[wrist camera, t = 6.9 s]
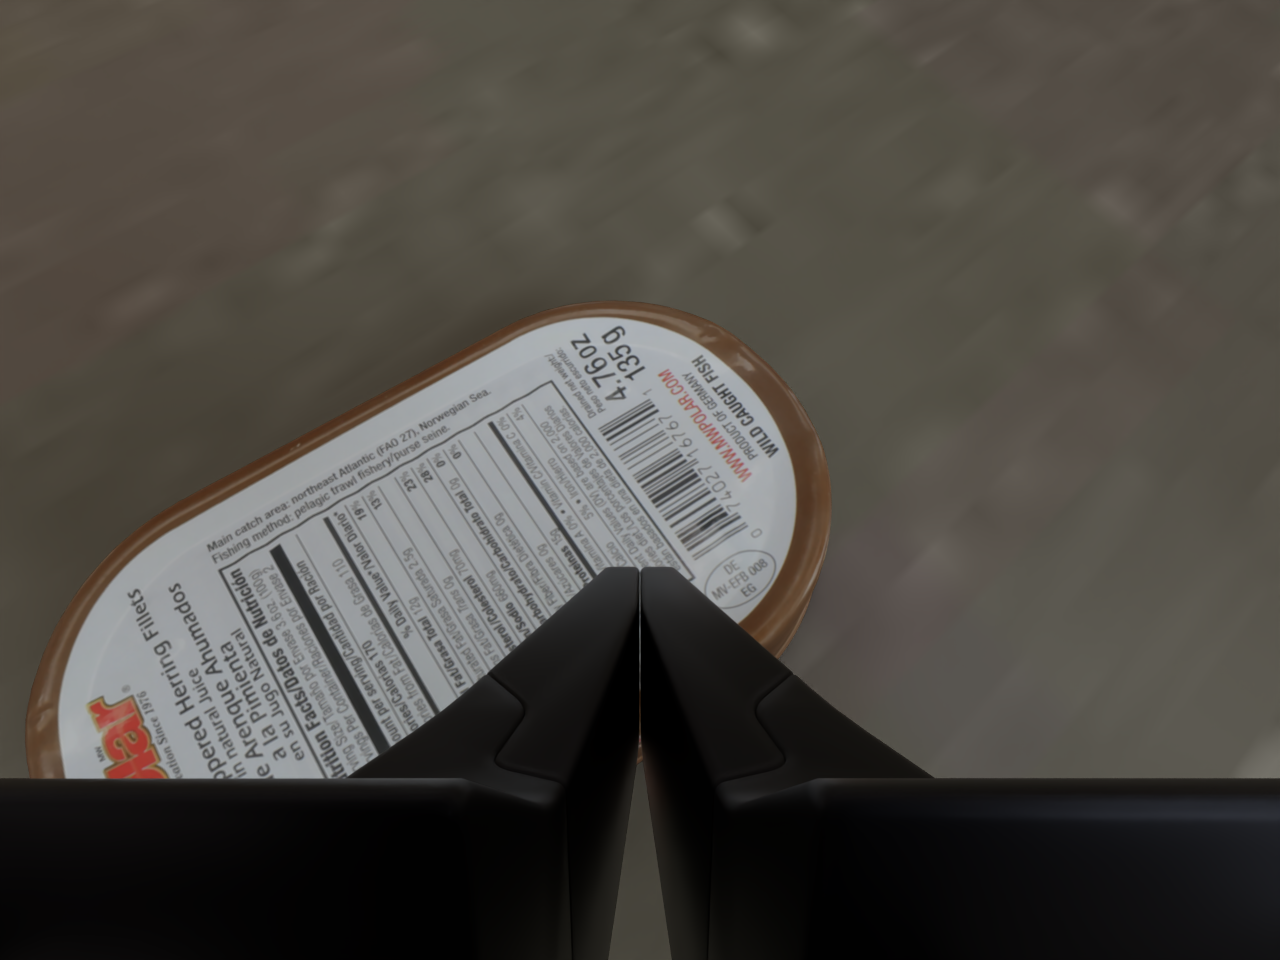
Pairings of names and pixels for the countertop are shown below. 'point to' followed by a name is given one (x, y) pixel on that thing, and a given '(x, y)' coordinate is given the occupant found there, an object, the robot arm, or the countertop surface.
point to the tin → (434, 548)
